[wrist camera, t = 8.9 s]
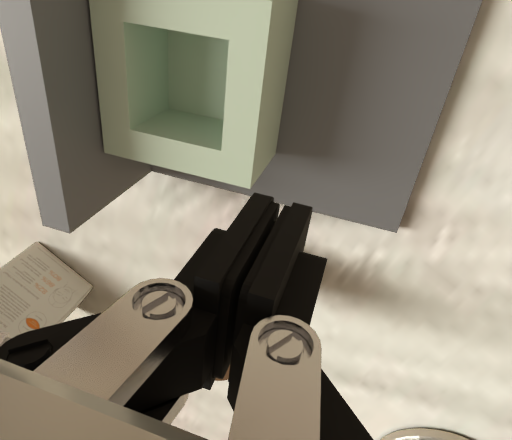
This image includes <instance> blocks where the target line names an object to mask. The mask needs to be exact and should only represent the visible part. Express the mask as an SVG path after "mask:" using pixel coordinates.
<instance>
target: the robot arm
mask: <svg viewBox="0 0 512 440" xmlns="http://www.w3.org/2000/svg"><path fill="white" fill-rule="evenodd" d="M279 207H280V205H279V204H278V203H274V197H271V196H267V195H263V194H259V193H255V192H254V193H253V195H252V196H251V197H250V199H249V200H248V202H247V203H246V204H245V206H244V207H243V209H242V210H241V211H240V213H239V214H238V216H237V217H236V218H235V220H234V221H233V223H232V224H231V225H230V227H229V228H228V230H227V231H225V230H221V229H218V228H215V229H214V230H213V231H212V232H211V233H210V234H209V235H208V237H207V238H206V239H205V241H204V242H203V243H202V244H201V246H200V247H199V248H198V250H197V251H196V252H195V254H194V255H193V256H192V257H191V259H190V260H189V261H188V263H187V264H186V265H185V266H184V268H183V269H182V270H181V272H180V273H179V274H178V275H177V277H176V278H175V279H174V280H172V279H165V278H157V279H150V280H147V281H144V282H141V283H139V284H138V285H136V286H134V287H133V288H132V289H130V290H129V291H128V292H127V293H126V294H124V295H123V296H122V297H121V298H120V299H118V300H117V301H116V302H115V303H114V304H113V305H111V306H110V307H109V308H108V309H107V310H105V311H104V312H103V313H99V314H95V315H91V316H87V317H83V318H79V319H75V320H71V321H67V322H63V323H59V324H55V325H51V326H47V327H43V328H39V329H35V330H31V331H28V332H25V333H22V334H19V335H17V336H15V337H13V338H11V336H10V333H9V332H3V331H0V440H208V439H205V438H203V437H200V436H197V435H195V434H192V433H190V432H187V431H185V430H182V429H180V428H177V427H175V426H172V425H170V424H171V423H172V422H173V420H174V419H175V417H176V416H177V415H178V413H179V412H180V410H181V409H182V408H183V406H184V405H185V403H186V401H187V399H188V394H189V393H191V392H194V391H196V390H199V389H202V388H205V389H208V390H210V389H211V387H212V385H213V383H214V381H215V379H216V378H218V379H221V380H222V379H223V378H224V376H225V374H226V372H227V370H228V368H229V366H230V370H229V378H228V382H229V388H228V396H227V399H228V401H229V403H230V405H231V407H232V409H233V411H234V414H233V418H232V423H231V428H230V432H229V437H228V440H373V439H372V437H371V436H370V434H369V433H368V432H367V430H366V429H365V428H364V426H363V425H362V424H361V422H360V421H359V419H358V418H357V417H356V415H355V414H354V413H353V411H352V410H351V408H350V407H349V406H348V404H347V403H346V402H345V400H344V399H343V398H342V396H341V395H340V393H339V392H338V391H337V389H336V388H335V387H334V385H333V384H332V383H331V381H330V380H329V378H328V377H327V376H326V374H325V373H324V372H323V370H322V369H321V343H320V339H319V337H318V335H317V334H316V332H315V331H314V330H313V329H312V328H311V327H310V326H309V325H310V322H311V318H312V314H313V311H314V307H315V303H316V299H317V296H318V292H319V288H320V284H321V281H322V277H323V273H324V269H325V266H326V262H327V259H326V258H322V257H319V256H315V255H311V254H308V253H304V252H303V250H304V246H305V241H306V237H307V233H308V228H309V224H310V219H311V215H312V209H313V207H311V206H307V205H303V204H299V203H295V202H293V204H292V206H291V207H290V206H286V205H285V206H284V207H283V209H282V211H281V213H280V215H279V217H278V213H279ZM381 440H469V439H467V438H465V437H462V436H460V435H457V434H454V433H450V432H446V431H441V430H436V429H427V428H412V429H404V430H399V431H396V432H392V433H390V434H388V435H386V436H384V437H383V438H382V439H381Z"/></svg>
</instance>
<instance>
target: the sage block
mask: <svg viewBox="0 0 512 440" xmlns="http://www.w3.org/2000/svg"><path fill="white" fill-rule="evenodd" d="M89 6H90V16H91V26H92V36H93V46H94V55H95V65H96V75H97V85H98V95H99V105H100V115H101V124H102V134H103V144H104V153H107V154H111V155H115V156H119V157H123V158H127V159H131V160H135V161H139V162H143V163H147V164H151V165H155V166H159V167H163V168H168V169H172V170H176V171H180V172H184V173H188V174H192V175H196V176H200V177H204V178H208V179H212V180H216V181H220V182H224V183H228V184H232V185H236V186H240V187H244V188H248V189H251V187H252V186H253V184H254V183H255V182H256V180H257V179H258V177H259V176H260V175H261V173H262V172H263V170H264V169H265V168H266V166H267V165H268V164H269V162H270V161H271V159H272V158H273V157H274V155H275V154H276V147H277V141H278V134H279V127H280V121H281V114H282V107H283V100H284V94H285V87H286V80H287V74H288V67H289V60H290V53H291V47H292V40H293V33H294V27H295V20H296V13H297V7H298V0H89Z"/></svg>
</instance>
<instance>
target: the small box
mask: <svg viewBox="0 0 512 440" xmlns="http://www.w3.org/2000/svg"><path fill="white" fill-rule="evenodd" d="M92 288H93V286H92V285H91V284H90V283H88V282H87V281H86V280H85V279H83V278H82V277H81V276H80V275H78V274H77V273H76V272H75V271H74V270H72V269H71V268H70V267H69V266H67V265H66V264H65V263H64V262H62V261H61V260H60V259H59V258H57V257H56V256H55V255H54V254H52V253H51V252H50V251H49V250H47V249H46V248H45V247H44V246H42V245H41V244H40V243H39V242H35V243H34V244H32V245H31V246H29V247H28V248H27V249H25V250H24V251H23V252H21V253H20V254H19V255H17V256H16V257H15V258H13V259H12V260H11V261H9V262H8V263H7V264H5V265H4V266H3V267H1V268H0V331H3V332H9V333H10V336H11V338H13V337H15V336H17V335H19V334H22V333H25V332H28V331H31V330H35V329H39V328H43V327H47V326H51V325H55V324H59V323H62V322H63V321H64V320H65V319H66V318H67V317H68V316H69V315H70V314H71V313H72V312H73V311H74V310H75V309H76V308H77V306H78V305H79V304H80V303H81V302H82V301H83V299H84V298H85V297H86V296H87V294H88V293H89V292H90V291H91V289H92Z"/></svg>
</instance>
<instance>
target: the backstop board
mask: <svg viewBox="0 0 512 440" xmlns="http://www.w3.org/2000/svg"><path fill="white" fill-rule="evenodd" d="M481 3H482V0H298V7H297V13H296V20H295V27H294V33H293V40H292V47H291V53H290V60H289V67H288V74H287V80H286V87H285V94H284V100H283V107H282V114H281V121H280V127H279V134H278V141H277V147H276V154H275V155H274V157H273V158H272V159H271V161H270V162H269V164H268V165H267V166H266V168H265V169H264V170H263V172H262V173H261V175H260V176H259V177H258V179H257V180H256V182H255V183H254V184H253V186H252V187H251V189H248V188H244V187H240V186H236V185H232V184H228V183H224V182H220V181H216V180H212V179H208V178H204V177H200V176H196V175H192V174H188V173H184V172H180V171H176V170H172V169H168V168H163V167H159V166H155V165H151V164H147V163H143V162H139V161H135V160H131V159H127V158H123V157H119V156H115V155H111V154H107V153H104V144H103V134H102V124H101V115H100V105H99V95H98V85H97V75H96V65H95V55H94V46H93V36H92V26H91V16H90V6H89V0H0V28H1V33H2V38H3V42H4V47H5V52H6V56H7V61H8V66H9V70H10V75H11V80H12V84H13V89H14V94H15V98H16V103H17V107H18V112H19V117H20V121H21V126H22V131H23V135H24V140H25V145H26V149H27V154H28V159H29V163H30V168H31V173H32V177H33V182H34V187H35V191H36V196H37V201H38V205H39V210H40V215H41V219H42V224H43V226H46V227H50V228H53V229H56V230H60V231H63V232H66V233H71V232H73V231H74V230H75V229H76V228H78V227H79V226H80V225H82V224H83V223H84V222H86V221H87V220H88V219H90V218H91V217H92V216H93V215H95V214H96V213H97V212H99V211H100V210H101V209H103V208H104V207H105V206H107V205H108V204H109V203H110V202H112V201H113V200H114V199H116V198H117V197H118V196H120V195H121V194H122V193H123V192H125V191H126V190H127V189H129V188H130V187H131V186H133V185H134V184H135V183H137V182H138V181H139V180H140V179H142V178H143V177H144V176H146V175H147V174H148V173H150V172H151V171H154V172H158V173H162V174H165V175H169V176H173V177H177V178H181V179H185V180H189V181H193V182H197V183H201V184H205V185H209V186H213V187H217V188H221V189H225V190H229V191H233V192H237V193H241V194H245V195H249V196H252V195H253V193H254V192H255V193H259V194H263V195H267V196H271V197H274V202H276V203H280V204H284V205H288V206H292V204H293V202H295V203H299V204H303V205H307V206H311V207H313V209H312V212H316V213H320V214H324V215H328V216H332V217H336V218H340V219H344V220H348V221H352V222H356V223H360V224H364V225H368V226H372V227H376V228H380V229H383V230H387V231H391V232H395V233H397V230H398V228H399V225H400V222H401V220H402V217H403V214H404V212H405V209H406V206H407V203H408V201H409V198H410V195H411V193H412V190H413V187H414V184H415V182H416V179H417V176H418V174H419V171H420V168H421V165H422V163H423V160H424V157H425V155H426V152H427V149H428V147H429V144H430V141H431V138H432V136H433V133H434V130H435V128H436V125H437V122H438V119H439V117H440V114H441V111H442V109H443V106H444V103H445V101H446V98H447V95H448V92H449V90H450V87H451V84H452V82H453V79H454V76H455V73H456V71H457V68H458V65H459V63H460V60H461V57H462V54H463V52H464V49H465V46H466V44H467V41H468V38H469V36H470V33H471V30H472V27H473V25H474V22H475V19H476V17H477V14H478V11H479V8H480V6H481Z"/></svg>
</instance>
